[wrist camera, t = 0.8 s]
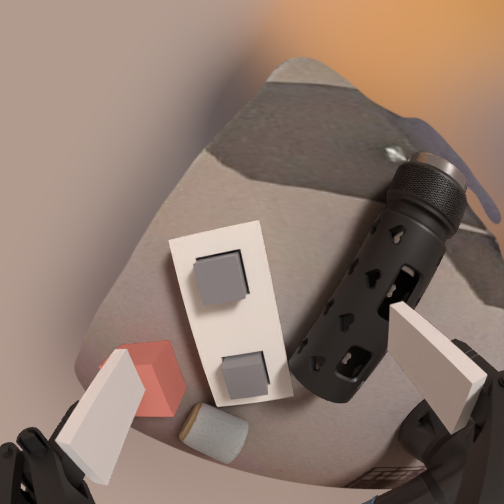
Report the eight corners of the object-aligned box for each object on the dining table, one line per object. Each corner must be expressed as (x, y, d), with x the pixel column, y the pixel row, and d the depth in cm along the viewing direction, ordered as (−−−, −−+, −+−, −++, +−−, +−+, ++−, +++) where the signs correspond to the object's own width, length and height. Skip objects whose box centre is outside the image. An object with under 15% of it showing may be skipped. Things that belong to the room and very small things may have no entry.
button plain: (267, 376, 33) (268, 394, 29) (233, 381, 33) (230, 399, 29) (260, 347, 32) (260, 363, 29) (225, 353, 33) (221, 369, 29)
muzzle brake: (283, 343, 35) (289, 387, 25) (389, 157, 32) (430, 138, 21) (340, 370, 35) (360, 414, 25) (439, 197, 32) (487, 194, 22)
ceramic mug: (200, 390, 36) (188, 423, 29) (251, 411, 37) (248, 447, 29) (177, 429, 38) (165, 461, 30) (222, 448, 38) (216, 481, 31)
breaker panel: (291, 379, 36) (293, 396, 32) (219, 390, 36) (215, 406, 32) (259, 219, 33) (258, 220, 29) (177, 237, 34) (166, 240, 30)
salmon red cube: (186, 387, 36) (173, 416, 29) (139, 389, 37) (122, 415, 30) (169, 339, 36) (151, 364, 29) (121, 344, 36) (98, 366, 29)
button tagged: (247, 288, 32) (245, 298, 28) (210, 295, 32) (203, 306, 28) (239, 250, 31) (236, 255, 27) (201, 258, 31) (192, 264, 27)
